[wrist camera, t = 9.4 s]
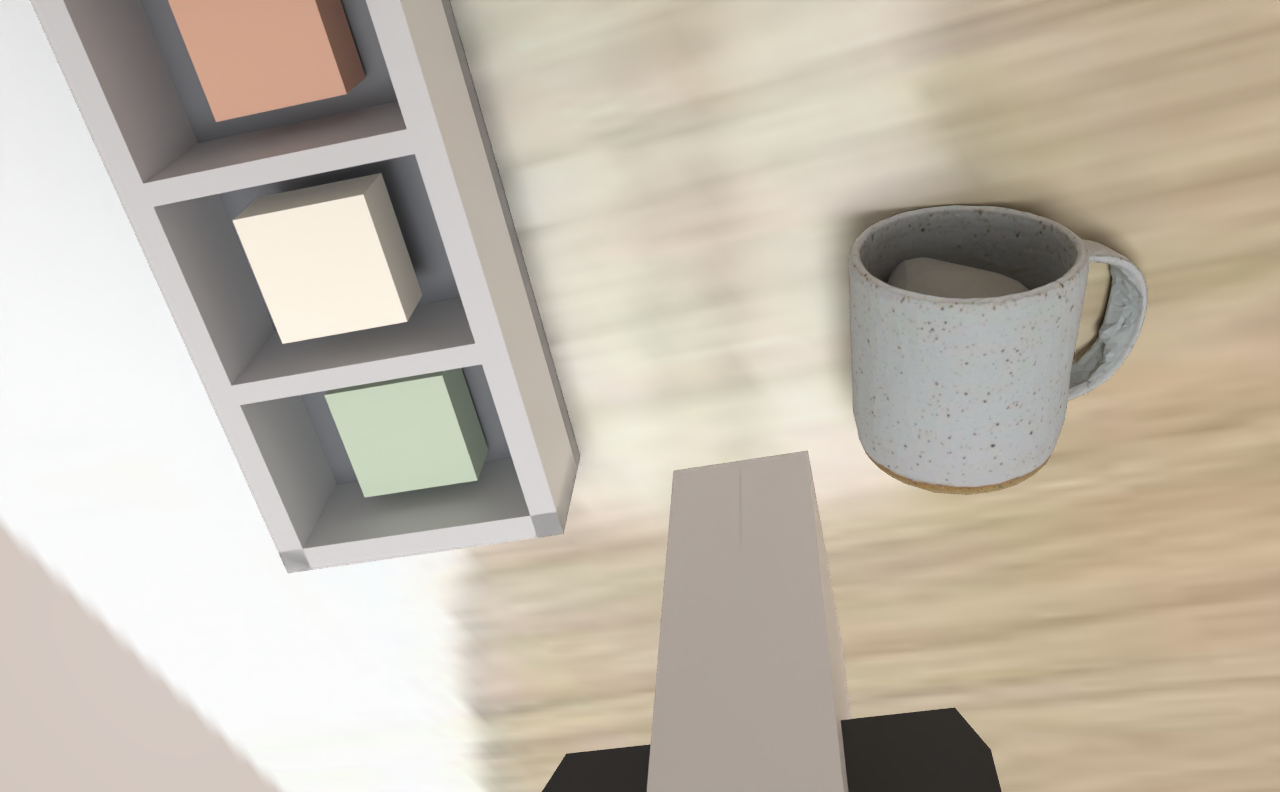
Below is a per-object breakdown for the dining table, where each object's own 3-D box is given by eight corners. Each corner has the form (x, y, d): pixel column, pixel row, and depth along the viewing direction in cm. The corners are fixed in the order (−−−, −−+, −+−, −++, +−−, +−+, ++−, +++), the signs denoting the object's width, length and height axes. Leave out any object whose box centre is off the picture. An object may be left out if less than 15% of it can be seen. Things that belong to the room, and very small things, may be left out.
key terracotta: (188, -34, 38) (158, -23, 36) (319, -65, 37) (296, -55, 35) (240, 104, 40) (216, 122, 38) (365, 77, 39) (347, 93, 37)
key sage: (341, 367, 45) (324, 395, 43) (454, 348, 44) (441, 375, 42) (379, 467, 47) (364, 497, 45) (488, 450, 46) (477, 480, 44)
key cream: (256, 198, 40) (232, 220, 38) (381, 172, 39) (363, 194, 37) (303, 316, 42) (282, 343, 40) (422, 294, 42) (407, 321, 40)
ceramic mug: (844, 409, 46) (867, 522, 39) (837, 211, 42) (862, 300, 35) (1123, 389, 45) (1196, 502, 38) (1143, 184, 41) (1228, 270, 34)
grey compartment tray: (96, -72, 39) (8, -47, 34) (406, -149, 37) (359, -134, 32) (330, 494, 49) (287, 573, 45) (580, 456, 48) (563, 534, 43)
